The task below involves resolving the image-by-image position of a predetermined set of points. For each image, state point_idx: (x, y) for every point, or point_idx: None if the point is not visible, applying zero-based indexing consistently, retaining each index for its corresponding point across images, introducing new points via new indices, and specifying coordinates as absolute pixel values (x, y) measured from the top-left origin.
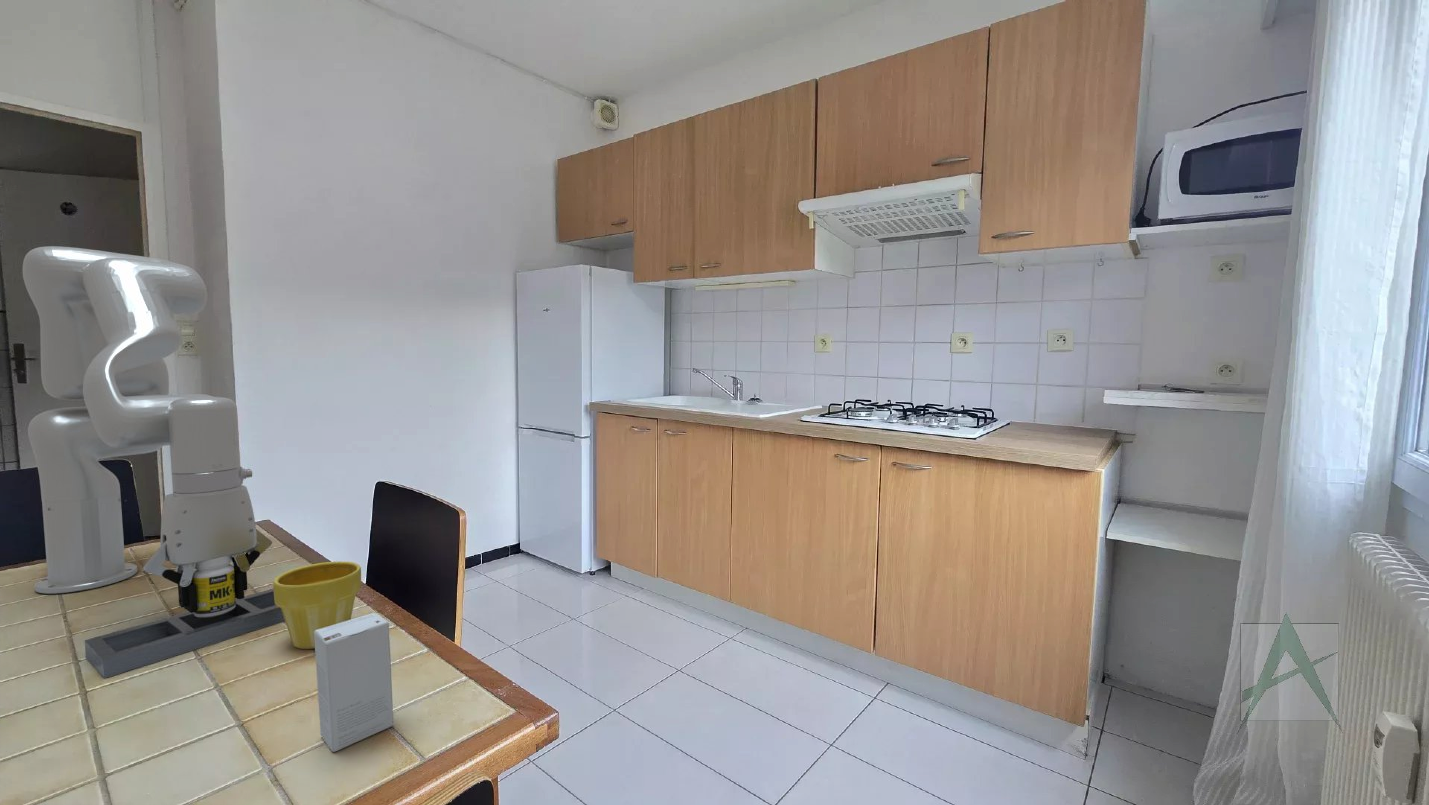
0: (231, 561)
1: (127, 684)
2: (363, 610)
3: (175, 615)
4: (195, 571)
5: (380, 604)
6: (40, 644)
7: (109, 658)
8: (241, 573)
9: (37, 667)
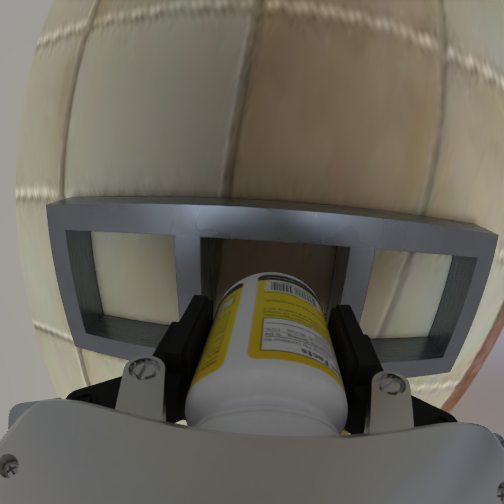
0: (371, 404)
1: (117, 372)
2: (437, 400)
3: (200, 207)
4: (194, 423)
5: (459, 395)
6: (55, 49)
7: (81, 347)
8: (343, 429)
9: (31, 174)
